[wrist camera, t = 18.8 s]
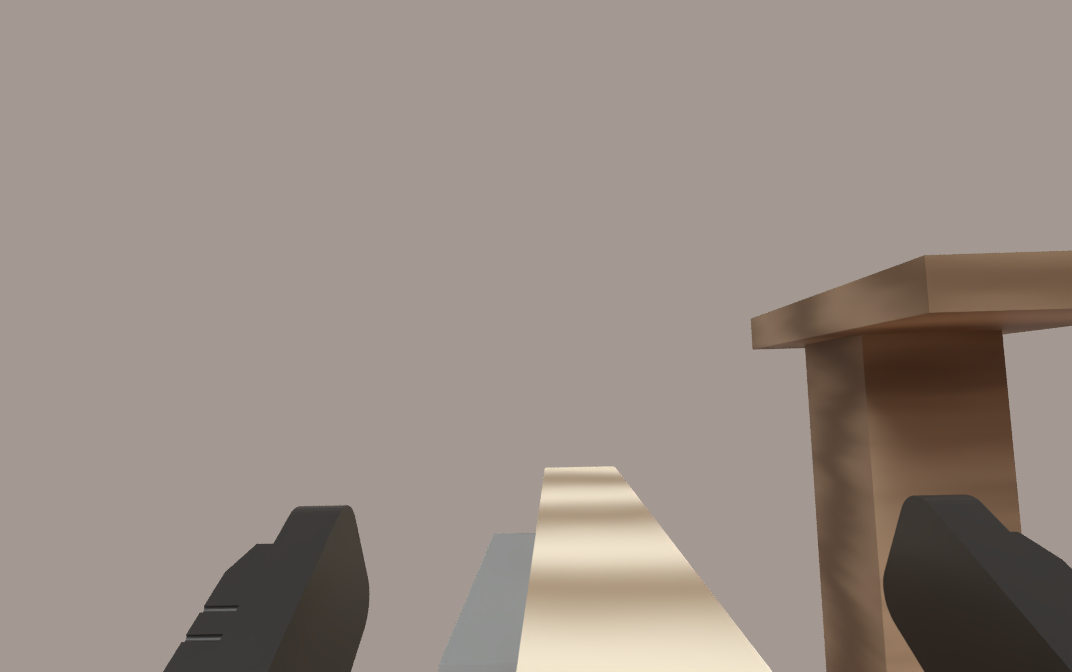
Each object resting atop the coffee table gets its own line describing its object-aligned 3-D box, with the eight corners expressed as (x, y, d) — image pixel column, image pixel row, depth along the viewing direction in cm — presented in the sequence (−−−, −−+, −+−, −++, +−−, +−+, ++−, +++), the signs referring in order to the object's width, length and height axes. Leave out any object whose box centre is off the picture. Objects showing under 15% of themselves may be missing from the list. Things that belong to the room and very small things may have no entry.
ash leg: (843, 1080, 6) (820, 733, 6) (514, 1077, 6) (507, 736, 6) (611, 523, 31) (608, 459, 31) (548, 524, 31) (546, 460, 31)
